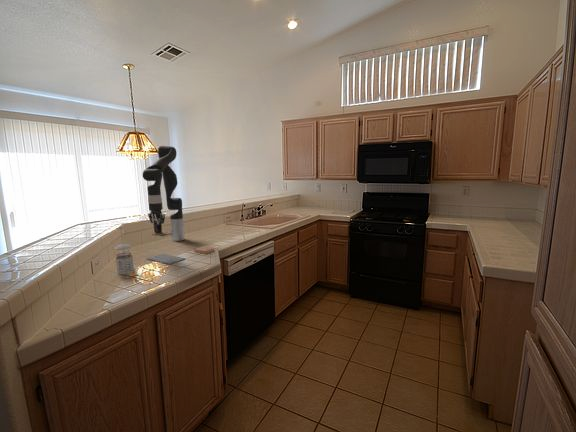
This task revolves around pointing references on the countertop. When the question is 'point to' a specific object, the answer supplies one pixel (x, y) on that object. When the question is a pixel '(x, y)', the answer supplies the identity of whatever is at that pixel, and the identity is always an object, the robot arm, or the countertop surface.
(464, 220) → the countertop surface
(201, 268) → the countertop surface
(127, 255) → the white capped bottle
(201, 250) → the tile
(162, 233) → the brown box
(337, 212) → the countertop surface
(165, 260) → the mat
